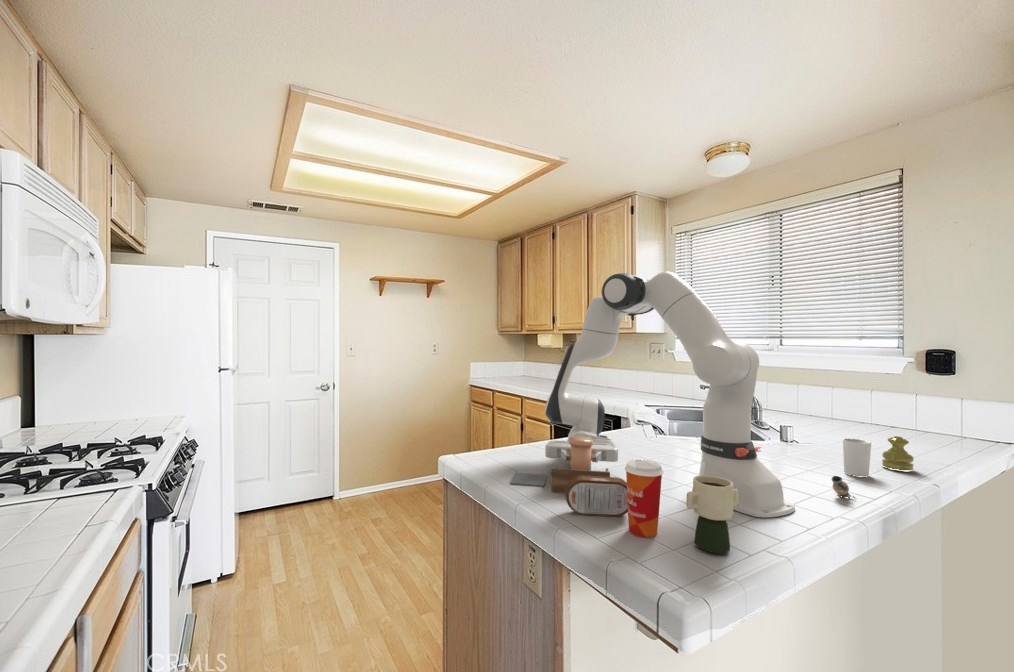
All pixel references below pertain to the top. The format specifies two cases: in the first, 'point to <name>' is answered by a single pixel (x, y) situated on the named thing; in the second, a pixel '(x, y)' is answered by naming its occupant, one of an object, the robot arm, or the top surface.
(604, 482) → the tin
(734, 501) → the character mug
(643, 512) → the paper cup
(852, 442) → the white cup
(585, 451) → the peach capped cylinder
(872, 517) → the top surface
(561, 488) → the wooden u-shaped open frame
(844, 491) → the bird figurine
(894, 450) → the gold chess piece
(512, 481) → the slate mat
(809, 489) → the top surface
